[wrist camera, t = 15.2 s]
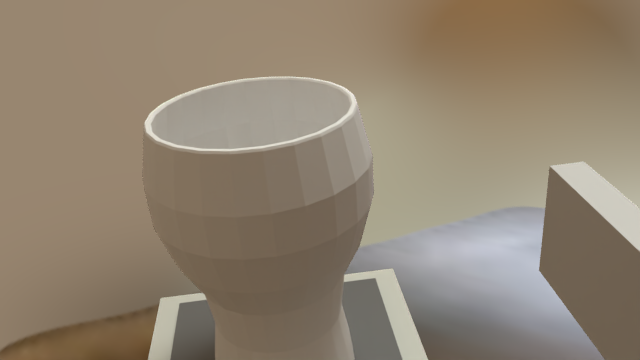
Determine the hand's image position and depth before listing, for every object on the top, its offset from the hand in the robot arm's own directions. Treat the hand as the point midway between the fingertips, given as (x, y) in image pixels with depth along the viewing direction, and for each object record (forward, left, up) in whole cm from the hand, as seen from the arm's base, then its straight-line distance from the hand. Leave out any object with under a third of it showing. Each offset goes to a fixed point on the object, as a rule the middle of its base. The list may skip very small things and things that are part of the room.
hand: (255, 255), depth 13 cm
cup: (-7, -13, -17) cm, 22 cm away
